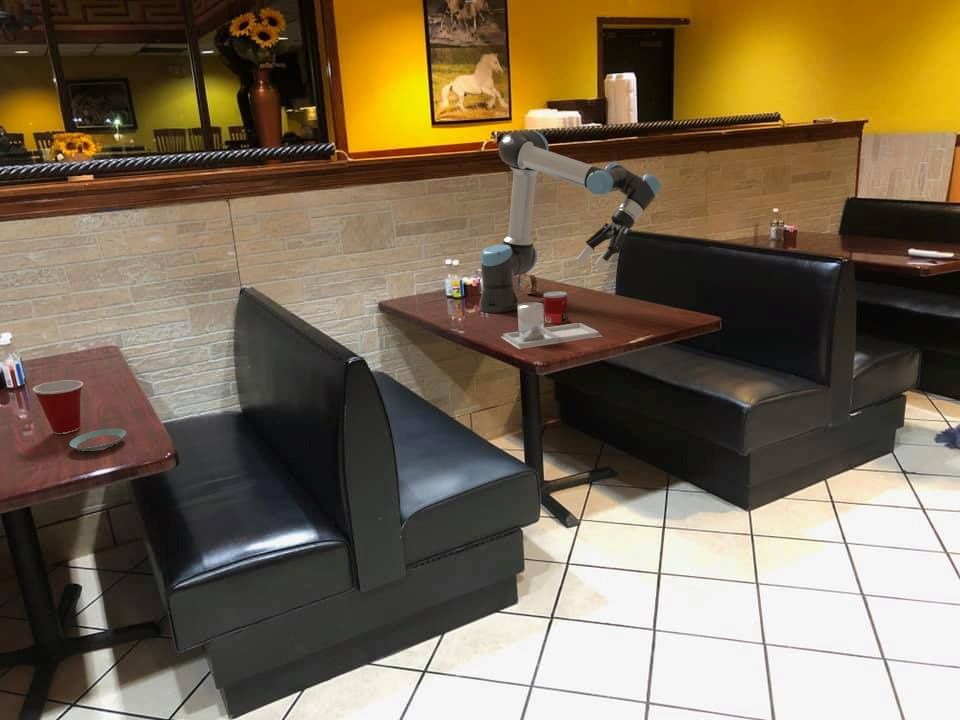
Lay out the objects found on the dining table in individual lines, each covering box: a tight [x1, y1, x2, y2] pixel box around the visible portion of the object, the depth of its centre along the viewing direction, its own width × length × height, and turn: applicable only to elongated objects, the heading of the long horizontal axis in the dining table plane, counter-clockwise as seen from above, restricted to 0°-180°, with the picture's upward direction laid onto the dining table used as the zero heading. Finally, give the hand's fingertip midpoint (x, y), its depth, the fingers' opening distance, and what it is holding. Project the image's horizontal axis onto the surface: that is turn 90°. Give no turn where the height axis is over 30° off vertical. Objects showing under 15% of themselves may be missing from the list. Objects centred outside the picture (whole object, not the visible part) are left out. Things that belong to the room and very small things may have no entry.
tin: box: [517, 272, 537, 295], centre depth 309 cm, size 15×3×8 cm, turn 18°
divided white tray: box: [500, 322, 603, 350], centre depth 237 cm, size 16×28×3 cm, turn 109°
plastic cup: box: [32, 379, 84, 433], centre depth 183 cm, size 11×11×12 cm
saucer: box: [69, 428, 127, 452], centre depth 174 cm, size 12×12×2 cm
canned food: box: [543, 290, 569, 325], centre depth 255 cm, size 8×8×11 cm
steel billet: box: [517, 301, 545, 342], centre depth 234 cm, size 8×8×11 cm
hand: (587, 264), depth 254 cm, fingers open, 13 cm apart
